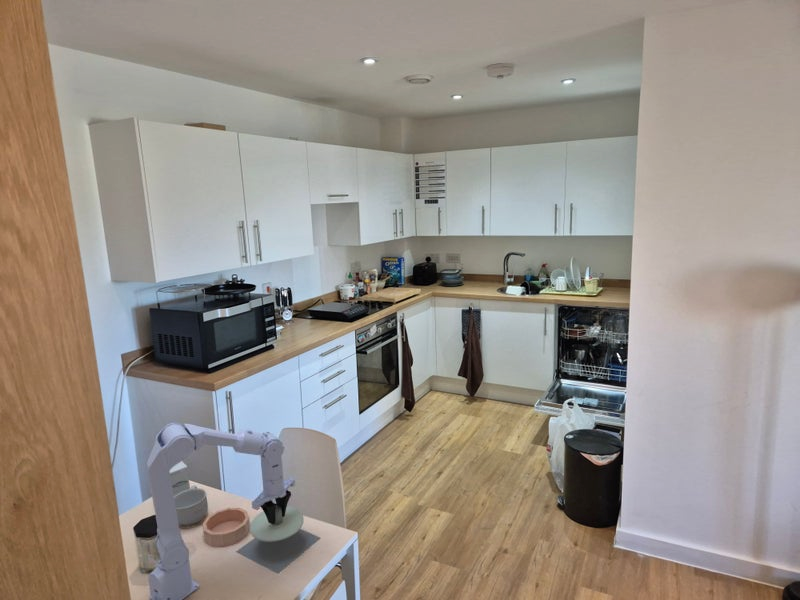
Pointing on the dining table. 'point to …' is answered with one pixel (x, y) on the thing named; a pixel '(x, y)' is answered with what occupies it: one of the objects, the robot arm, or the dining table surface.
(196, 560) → the dining table surface
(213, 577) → the dining table surface
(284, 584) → the dining table surface
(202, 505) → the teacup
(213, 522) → the bowl
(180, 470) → the supplement box
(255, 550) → the mat
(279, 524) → the cover
